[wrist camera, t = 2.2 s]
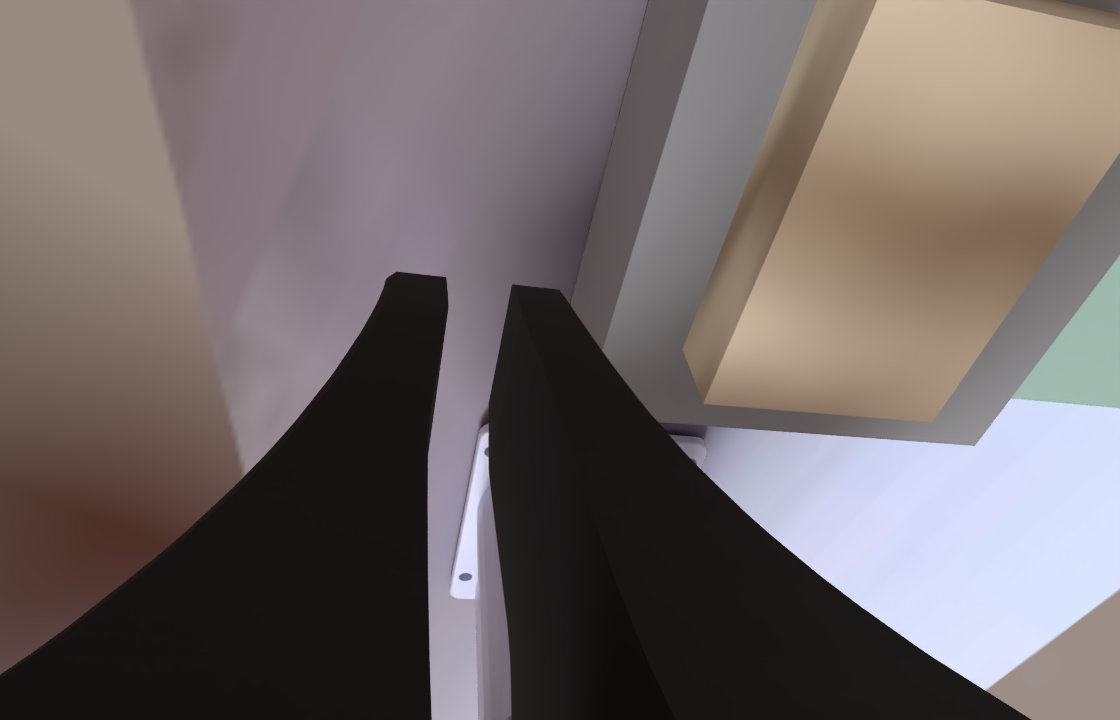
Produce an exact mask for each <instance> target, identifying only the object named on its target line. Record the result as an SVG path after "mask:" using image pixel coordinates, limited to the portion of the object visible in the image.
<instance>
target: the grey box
mask: <svg viewBox="0 0 1120 720" xmlns="http://www.w3.org/2000/svg"><path fill="white" fill-rule="evenodd" d="M1057 1H1061V2H1066V3H1070V4H1074V5H1079V6H1083V7H1088V8H1092V9H1096V10H1101V11H1105V12H1110V13H1114V14H1117V15H1120V0H1057ZM816 2H817V0H649V1H648V5H647V9H646V12H645V16H644V20H643V24H642V28H641V32H640V36H639V40H638V43H637V47H636V51H635V55H634V59H633V63H632V67H631V71H630V74H629V78H628V82H627V86H626V90H625V94H624V98H623V102H622V105H621V109H620V113H619V117H618V121H617V125H616V129H615V133H614V137H613V140H612V144H611V148H610V152H609V156H608V160H607V164H606V168H605V171H604V175H603V179H602V183H601V187H600V191H599V195H598V199H597V202H596V206H595V210H594V214H593V218H592V222H591V226H590V230H589V233H588V237H587V241H586V245H585V249H584V253H583V257H582V261H581V264H580V268H579V272H578V276H577V280H576V284H575V288H574V292H573V295H572V299H571V303H570V305H571V307H572V308H573V310H574V311H575V313H576V314H577V315H578V317H579V318H580V320H581V321H582V323H583V324H584V326H585V327H586V328H587V330H588V331H589V333H590V334H591V336H592V337H593V338H594V340H595V341H596V343H597V344H598V345H599V347H600V348H601V350H602V351H603V352H604V354H605V355H606V357H607V358H608V359H609V361H610V362H611V363H612V365H613V366H614V368H615V369H616V370H617V372H618V373H619V374H620V375H621V377H622V378H623V379H624V381H625V382H626V383H627V385H628V386H629V387H630V388H631V390H632V391H633V392H634V394H635V395H636V396H637V397H638V399H639V400H640V401H641V403H642V404H643V405H644V406H645V407H646V409H647V410H648V411H649V412H650V414H651V415H652V416H653V417H654V418H655V419H656V421H657V422H663V423H676V424H689V425H703V426H716V427H730V428H743V429H757V430H770V431H783V432H797V433H810V434H824V435H837V436H851V437H864V438H877V439H891V440H904V441H918V442H931V443H945V444H958V445H972V446H975V445H976V443H977V442H978V441H979V439H980V438H981V437H982V436H983V434H984V433H985V432H986V430H987V429H988V428H989V426H990V425H991V424H992V422H993V421H994V420H995V418H996V417H997V416H998V415H999V413H1000V412H1001V411H1002V409H1003V408H1004V407H1005V405H1006V404H1007V403H1008V401H1009V400H1010V399H1011V397H1012V396H1013V395H1014V393H1015V392H1016V391H1017V390H1018V388H1019V387H1020V386H1021V384H1022V383H1023V382H1024V380H1025V379H1026V378H1027V376H1028V375H1029V374H1030V372H1031V371H1032V370H1033V369H1034V367H1035V366H1036V365H1037V363H1038V362H1039V361H1040V359H1041V358H1042V357H1043V355H1044V354H1045V353H1046V351H1047V350H1048V349H1049V348H1050V346H1051V345H1052V344H1053V342H1054V341H1055V340H1056V338H1057V337H1058V336H1059V334H1060V333H1061V332H1062V330H1063V329H1064V328H1065V327H1066V325H1067V324H1068V323H1069V321H1070V320H1071V319H1072V317H1073V316H1074V315H1075V313H1076V312H1077V311H1078V309H1079V308H1080V307H1081V306H1082V304H1083V303H1084V302H1085V300H1086V299H1087V298H1088V296H1089V295H1090V294H1091V292H1092V291H1093V290H1094V288H1095V287H1096V286H1097V285H1098V283H1099V282H1100V281H1101V279H1102V278H1103V277H1104V275H1105V274H1106V273H1107V271H1108V270H1109V269H1110V267H1111V266H1112V265H1113V264H1114V262H1115V261H1116V260H1117V258H1118V257H1119V256H1120V153H1119V155H1118V156H1117V158H1116V159H1115V160H1114V162H1113V163H1112V165H1111V166H1110V168H1109V169H1108V170H1107V172H1106V173H1105V175H1104V176H1103V178H1102V179H1101V181H1100V182H1099V183H1098V185H1097V186H1096V188H1095V189H1094V191H1093V192H1092V194H1091V195H1090V196H1089V198H1088V199H1087V201H1086V202H1085V204H1084V205H1083V206H1082V208H1081V209H1080V211H1079V212H1078V214H1077V215H1076V217H1075V218H1074V219H1073V221H1072V222H1071V224H1070V225H1069V227H1068V228H1067V229H1066V231H1065V232H1064V234H1063V235H1062V237H1061V238H1060V240H1059V241H1058V242H1057V244H1056V245H1055V247H1054V248H1053V250H1052V251H1051V253H1050V254H1049V255H1048V257H1047V258H1046V260H1045V261H1044V263H1043V264H1042V265H1041V267H1040V268H1039V270H1038V271H1037V273H1036V274H1035V276H1034V277H1033V278H1032V280H1031V281H1030V283H1029V284H1028V286H1027V287H1026V288H1025V290H1024V291H1023V293H1022V294H1021V296H1020V297H1019V299H1018V300H1017V301H1016V303H1015V304H1014V306H1013V307H1012V309H1011V310H1010V312H1009V313H1008V314H1007V316H1006V317H1005V319H1004V320H1003V322H1002V323H1001V324H1000V326H999V327H998V329H997V330H996V332H995V333H994V335H993V336H992V337H991V339H990V340H989V342H988V343H987V345H986V346H985V347H984V349H983V350H982V352H981V353H980V355H979V356H978V358H977V359H976V360H975V362H974V363H973V365H972V366H971V368H970V369H969V371H968V372H967V373H966V375H965V376H964V378H963V379H962V381H961V382H960V383H959V385H958V386H957V388H956V389H955V391H954V392H953V394H952V395H951V396H950V398H949V399H948V401H947V402H946V404H945V405H944V407H943V408H942V409H941V411H940V412H939V414H938V415H937V417H936V418H935V419H934V421H933V422H920V421H908V420H896V419H883V418H871V417H858V416H846V415H834V414H821V413H809V412H797V411H784V410H772V409H760V408H747V407H735V406H722V405H710V404H703V402H702V399H701V397H700V394H699V391H698V389H697V386H696V383H695V381H694V378H693V376H692V373H691V370H690V368H689V365H688V362H687V360H686V357H685V354H684V352H683V347H684V344H685V342H686V339H687V337H688V334H689V331H690V329H691V326H692V324H693V321H694V318H695V316H696V313H697V311H698V308H699V305H700V303H701V300H702V298H703V295H704V292H705V290H706V287H707V285H708V282H709V279H710V277H711V274H712V272H713V269H714V267H715V264H716V261H717V259H718V256H719V254H720V251H721V248H722V246H723V243H724V241H725V238H726V235H727V233H728V230H729V228H730V225H731V222H732V220H733V217H734V215H735V212H736V209H737V207H738V204H739V202H740V199H741V196H742V194H743V191H744V189H745V186H746V184H747V181H748V178H749V176H750V173H751V171H752V168H753V165H754V163H755V160H756V158H757V155H758V152H759V150H760V147H761V145H762V142H763V139H764V137H765V134H766V132H767V129H768V126H769V124H770V121H771V119H772V116H773V113H774V111H775V108H776V106H777V103H778V100H779V98H780V95H781V93H782V90H783V88H784V85H785V82H786V80H787V77H788V75H789V72H790V69H791V67H792V64H793V62H794V59H795V56H796V54H797V51H798V49H799V46H800V43H801V41H802V38H803V36H804V33H805V30H806V28H807V25H808V23H809V20H810V17H811V15H812V12H813V10H814V7H815V4H816Z"/></svg>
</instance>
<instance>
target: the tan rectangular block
mask: <svg viewBox="0 0 1120 720" xmlns="http://www.w3.org/2000/svg"><path fill="white" fill-rule="evenodd" d="M1119 153H1120V15H1117V14H1114V13H1110V12H1105V11H1101V10H1096V9H1092V8H1088V7H1083V6H1079V5H1074V4H1070V3H1066V2H1061V1H1057V0H817V2H816V4H815V7H814V10H813V12H812V15H811V17H810V20H809V23H808V25H807V28H806V30H805V33H804V36H803V38H802V41H801V43H800V46H799V49H798V51H797V54H796V56H795V59H794V62H793V64H792V67H791V69H790V72H789V75H788V77H787V80H786V82H785V85H784V88H783V90H782V93H781V95H780V98H779V100H778V103H777V106H776V108H775V111H774V113H773V116H772V119H771V121H770V124H769V126H768V129H767V132H766V134H765V137H764V139H763V142H762V145H761V147H760V150H759V152H758V155H757V158H756V160H755V163H754V165H753V168H752V171H751V173H750V176H749V178H748V181H747V184H746V186H745V189H744V191H743V194H742V196H741V199H740V202H739V204H738V207H737V209H736V212H735V215H734V217H733V220H732V222H731V225H730V228H729V230H728V233H727V235H726V238H725V241H724V243H723V246H722V248H721V251H720V254H719V256H718V259H717V261H716V264H715V267H714V269H713V272H712V274H711V277H710V279H709V282H708V285H707V287H706V290H705V292H704V295H703V298H702V300H701V303H700V305H699V308H698V311H697V313H696V316H695V318H694V321H693V324H692V326H691V329H690V331H689V334H688V337H687V339H686V342H685V344H684V347H683V352H684V354H685V357H686V360H687V362H688V365H689V368H690V370H691V373H692V376H693V378H694V381H695V383H696V386H697V389H698V391H699V394H700V397H701V399H702V402H703V404H710V405H722V406H735V407H747V408H760V409H772V410H784V411H797V412H809V413H821V414H834V415H846V416H858V417H871V418H883V419H896V420H908V421H920V422H933V421H934V419H935V418H936V417H937V415H938V414H939V412H940V411H941V409H942V408H943V407H944V405H945V404H946V402H947V401H948V399H949V398H950V396H951V395H952V394H953V392H954V391H955V389H956V388H957V386H958V385H959V383H960V382H961V381H962V379H963V378H964V376H965V375H966V373H967V372H968V371H969V369H970V368H971V366H972V365H973V363H974V362H975V360H976V359H977V358H978V356H979V355H980V353H981V352H982V350H983V349H984V347H985V346H986V345H987V343H988V342H989V340H990V339H991V337H992V336H993V335H994V333H995V332H996V330H997V329H998V327H999V326H1000V324H1001V323H1002V322H1003V320H1004V319H1005V317H1006V316H1007V314H1008V313H1009V312H1010V310H1011V309H1012V307H1013V306H1014V304H1015V303H1016V301H1017V300H1018V299H1019V297H1020V296H1021V294H1022V293H1023V291H1024V290H1025V288H1026V287H1027V286H1028V284H1029V283H1030V281H1031V280H1032V278H1033V277H1034V276H1035V274H1036V273H1037V271H1038V270H1039V268H1040V267H1041V265H1042V264H1043V263H1044V261H1045V260H1046V258H1047V257H1048V255H1049V254H1050V253H1051V251H1052V250H1053V248H1054V247H1055V245H1056V244H1057V242H1058V241H1059V240H1060V238H1061V237H1062V235H1063V234H1064V232H1065V231H1066V229H1067V228H1068V227H1069V225H1070V224H1071V222H1072V221H1073V219H1074V218H1075V217H1076V215H1077V214H1078V212H1079V211H1080V209H1081V208H1082V206H1083V205H1084V204H1085V202H1086V201H1087V199H1088V198H1089V196H1090V195H1091V194H1092V192H1093V191H1094V189H1095V188H1096V186H1097V185H1098V183H1099V182H1100V181H1101V179H1102V178H1103V176H1104V175H1105V173H1106V172H1107V170H1108V169H1109V168H1110V166H1111V165H1112V163H1113V162H1114V160H1115V159H1116V158H1117V156H1118V155H1119Z"/></svg>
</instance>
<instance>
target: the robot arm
mask: <svg viewBox="0 0 1120 720" xmlns="http://www.w3.org/2000/svg"><path fill="white" fill-rule="evenodd" d="M447 314H448V291H447V281H446V277H439V276H430V275H421V274H412V273H403V272H395V273H394V274H392V275H391V276H389V277H388V278H387V279H386V281H385V285H384V288H383V291H382V293H381V295H380V298H379V300H378V302H377V304H376V306H375V308H374V310H373V312H372V314H371V315H370V317H369V319H368V321H367V322H366V324H365V326H364V328H363V329H362V331H361V333H360V334H359V336H358V337H357V339H356V340H355V342H354V343H353V345H352V346H351V348H350V349H349V351H348V352H347V354H346V355H345V357H344V358H343V360H342V361H341V363H340V364H339V366H338V367H337V369H336V370H335V371H334V373H333V374H332V376H331V377H330V378H329V380H328V381H327V382H326V383H325V385H324V386H323V387H322V388H321V390H320V391H319V392H318V394H317V395H316V396H315V397H314V399H313V400H312V401H311V402H310V404H309V405H308V406H307V407H306V409H305V410H304V411H303V412H302V414H301V415H300V416H299V417H298V419H297V420H296V421H295V422H294V423H293V425H292V426H291V427H290V428H289V429H288V430H287V431H286V433H285V434H284V435H283V436H282V437H281V438H280V439H279V441H278V442H277V443H276V444H275V445H274V446H273V447H272V448H271V449H270V450H269V451H268V453H267V454H266V455H265V456H264V457H263V458H262V459H261V460H260V461H259V462H258V463H257V464H256V465H255V466H254V467H253V468H252V469H251V470H250V471H249V472H248V473H247V474H246V475H245V476H244V477H243V478H242V479H241V480H240V481H239V482H238V483H237V484H236V485H235V486H234V487H233V488H232V489H231V490H230V491H229V492H228V493H227V494H226V495H225V496H224V497H223V498H222V499H220V500H219V501H218V502H217V503H216V504H215V505H214V506H213V507H212V508H211V509H210V510H209V511H208V512H206V513H205V514H204V515H203V516H202V517H201V518H200V519H199V520H198V521H197V522H196V523H195V524H194V525H193V526H192V527H190V528H189V529H188V530H187V531H186V532H185V533H184V534H182V536H180V537H179V538H178V539H177V540H176V541H174V542H173V543H172V544H171V545H170V546H169V547H167V548H166V549H165V550H164V551H163V552H162V553H160V554H159V555H158V556H157V557H156V558H154V559H153V560H152V561H151V562H149V563H148V564H147V565H146V566H144V567H143V568H142V569H140V570H139V571H138V572H137V573H135V574H134V575H133V576H132V577H130V578H129V579H128V580H127V581H126V582H124V583H123V584H122V585H120V586H119V587H118V588H117V589H115V590H114V591H113V592H111V593H110V594H109V595H108V596H106V597H105V598H104V599H102V600H101V601H100V602H99V603H98V604H96V605H95V606H94V607H92V608H91V609H90V610H89V611H87V612H86V613H85V614H83V615H82V616H81V617H80V618H78V619H77V620H76V621H75V622H73V623H72V624H71V625H69V626H68V627H67V628H66V629H64V630H63V631H61V632H60V633H59V634H57V635H56V636H55V637H53V638H52V639H51V640H49V641H48V642H46V643H45V644H44V645H42V646H41V647H40V648H38V649H37V650H36V651H34V652H33V653H31V654H30V655H28V656H27V657H25V658H24V659H22V660H21V661H20V662H18V663H17V664H15V665H14V666H12V667H11V668H9V669H8V670H6V671H5V672H4V673H2V674H1V675H0V720H431V690H430V661H429V609H428V512H427V494H428V451H429V444H430V437H431V429H432V422H433V415H434V408H435V400H436V393H437V386H438V379H439V371H440V364H441V357H442V350H443V343H444V335H445V328H446V321H447ZM487 447H489V448H487ZM707 451H708V450H707V447H706V444H705V442H704V440H703V439H701V438H699V437H691V436H677V435H669V434H668V433H667V432H666V431H665V430H664V428H663V427H662V426H661V425H660V424H659V423H658V422H657V421H656V419H655V418H654V417H653V416H652V415H651V414H650V412H649V411H648V410H647V409H646V407H645V406H644V405H643V404H642V403H641V401H640V400H639V399H638V397H637V396H636V395H635V394H634V392H633V391H632V390H631V388H630V387H629V386H628V385H627V383H626V382H625V381H624V379H623V378H622V377H621V375H620V374H619V373H618V372H617V370H616V369H615V368H614V366H613V365H612V363H611V362H610V361H609V359H608V358H607V357H606V355H605V354H604V352H603V351H602V350H601V348H600V347H599V345H598V344H597V343H596V341H595V340H594V338H593V337H592V336H591V334H590V333H589V331H588V330H587V328H586V327H585V326H584V324H583V323H582V321H581V320H580V318H579V317H578V315H577V314H576V313H575V311H574V310H573V308H572V307H571V305H570V304H569V303H568V301H567V300H566V298H565V297H564V296H563V294H562V293H561V291H560V290H557V289H548V288H539V287H530V286H521V285H512V288H511V293H510V299H509V304H508V309H507V314H506V319H505V324H504V329H503V334H502V339H501V344H500V349H499V354H498V359H497V364H496V370H495V375H494V380H493V385H492V390H491V395H490V400H489V424H486V425H484V426H483V427H482V428H481V429H480V431H479V434H478V440H477V445H476V450H475V455H474V460H473V466H472V471H471V476H470V481H469V486H468V492H467V497H466V502H465V507H464V512H463V518H462V523H461V528H460V533H459V538H458V544H457V549H456V554H455V559H454V564H453V570H452V575H451V580H450V594H451V595H452V596H453V597H455V598H460V599H475V615H476V653H477V690H478V720H1031V719H1029V718H1028V717H1026V716H1025V715H1023V714H1021V713H1020V712H1018V711H1017V710H1015V709H1013V708H1012V707H1010V706H1009V705H1007V704H1006V703H1004V702H1002V701H1001V700H999V699H998V698H996V697H994V696H993V695H991V694H990V693H988V692H987V691H985V690H983V689H982V688H980V687H979V686H977V685H975V684H974V683H972V682H971V681H969V680H968V679H966V678H964V677H963V676H961V675H960V674H958V673H956V672H955V671H953V670H952V669H950V668H949V667H947V666H945V665H944V664H942V663H941V662H939V661H937V660H936V659H934V658H933V657H931V656H930V655H928V654H927V653H925V652H924V651H922V650H921V649H919V648H918V647H917V646H915V645H914V644H912V643H911V642H910V641H908V640H907V639H905V638H904V637H903V636H901V635H900V634H898V633H897V632H895V631H894V630H893V629H891V628H890V627H888V626H887V625H886V624H884V623H883V622H881V621H880V620H879V619H877V618H876V617H874V616H873V615H872V614H870V613H869V612H867V611H866V610H865V609H863V608H862V607H860V606H859V605H858V604H856V603H855V602H854V601H852V600H851V599H850V598H848V597H847V596H846V595H845V594H843V593H842V592H841V591H839V590H838V589H837V588H835V587H834V586H833V585H831V584H830V583H829V582H827V581H826V580H825V579H824V578H822V577H821V576H820V575H818V574H817V573H816V572H815V571H814V570H812V569H811V568H810V567H809V566H808V565H806V564H805V563H804V562H803V561H802V560H800V559H799V558H798V557H797V556H795V555H794V554H793V553H792V552H791V551H789V550H788V549H787V548H786V547H785V546H783V545H782V544H781V543H780V542H779V541H777V540H776V539H775V538H774V537H773V536H771V535H770V534H769V533H768V532H767V531H766V530H765V529H763V528H762V527H761V526H760V525H759V524H758V523H757V522H755V521H754V520H753V519H752V518H751V517H750V516H749V515H748V514H747V513H745V512H744V511H743V510H742V509H741V508H740V507H739V506H738V505H737V504H736V503H735V502H734V501H733V500H732V499H731V498H730V497H729V496H728V495H727V494H726V493H725V492H724V491H723V490H722V489H720V488H719V487H718V486H717V485H716V484H715V483H714V482H713V481H712V480H711V479H710V478H709V477H708V476H707V475H706V474H705V473H704V472H703V471H702V470H701V469H700V468H701V466H702V463H703V461H704V459H705V457H706V455H707Z"/></svg>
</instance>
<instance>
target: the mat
mask: <svg viewBox="0 0 1120 720" xmlns="http://www.w3.org/2000/svg"><path fill="white" fill-rule="evenodd" d="M1011 398H1014V399H1025V400H1036V401H1047V402H1058V403H1069V404H1080V405H1091V406H1102V407H1113V408H1120V256H1119V257H1118V258H1117V260H1116V261H1115V262H1114V264H1113V265H1112V266H1111V267H1110V269H1109V270H1108V271H1107V273H1106V274H1105V275H1104V277H1103V278H1102V279H1101V281H1100V282H1099V283H1098V285H1097V286H1096V287H1095V288H1094V290H1093V291H1092V292H1091V294H1090V295H1089V296H1088V298H1087V299H1086V300H1085V302H1084V303H1083V304H1082V306H1081V307H1080V308H1079V309H1078V311H1077V312H1076V313H1075V315H1074V316H1073V317H1072V319H1071V320H1070V321H1069V323H1068V324H1067V325H1066V327H1065V328H1064V329H1063V330H1062V332H1061V333H1060V334H1059V336H1058V337H1057V338H1056V340H1055V341H1054V342H1053V344H1052V345H1051V346H1050V348H1049V349H1048V350H1047V351H1046V353H1045V354H1044V355H1043V357H1042V358H1041V359H1040V361H1039V362H1038V363H1037V365H1036V366H1035V367H1034V369H1033V370H1032V371H1031V372H1030V374H1029V375H1028V376H1027V378H1026V379H1025V380H1024V382H1023V383H1022V384H1021V386H1020V387H1019V388H1018V390H1017V391H1016V392H1015V393H1014V395H1013V396H1012V397H1011Z"/></svg>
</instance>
